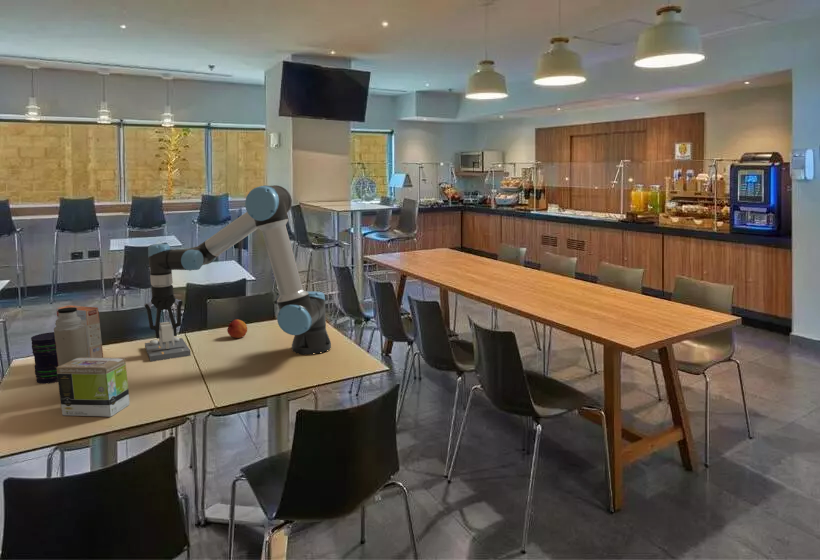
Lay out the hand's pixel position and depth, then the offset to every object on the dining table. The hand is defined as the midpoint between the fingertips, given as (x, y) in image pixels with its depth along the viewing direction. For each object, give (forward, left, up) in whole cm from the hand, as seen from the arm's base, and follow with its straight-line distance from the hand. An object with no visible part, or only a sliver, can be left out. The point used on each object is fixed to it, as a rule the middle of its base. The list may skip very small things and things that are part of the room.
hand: (167, 345), depth 219 cm
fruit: (+10, -29, -4) cm, 31 cm away
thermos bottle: (-32, +30, -4) cm, 44 cm away
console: (+4, 0, -4) cm, 5 cm away
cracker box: (+5, +28, -4) cm, 29 cm away
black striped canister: (-9, +37, -4) cm, 38 cm away
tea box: (-47, +25, -4) cm, 54 cm away
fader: (0, 0, -1) cm, 1 cm away
